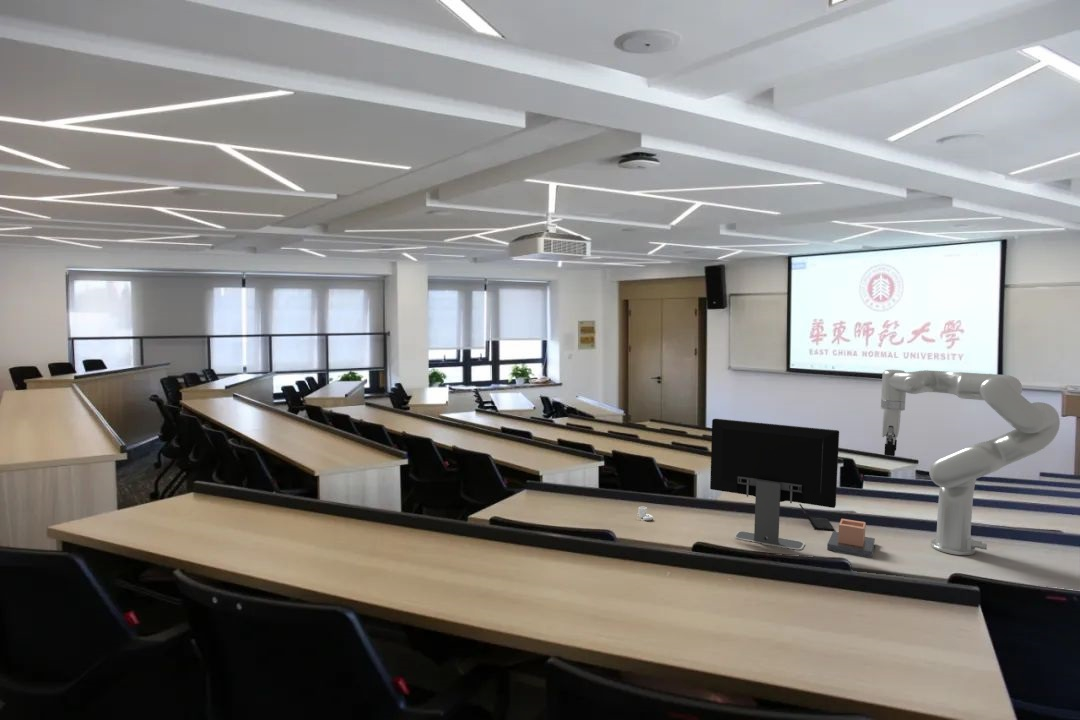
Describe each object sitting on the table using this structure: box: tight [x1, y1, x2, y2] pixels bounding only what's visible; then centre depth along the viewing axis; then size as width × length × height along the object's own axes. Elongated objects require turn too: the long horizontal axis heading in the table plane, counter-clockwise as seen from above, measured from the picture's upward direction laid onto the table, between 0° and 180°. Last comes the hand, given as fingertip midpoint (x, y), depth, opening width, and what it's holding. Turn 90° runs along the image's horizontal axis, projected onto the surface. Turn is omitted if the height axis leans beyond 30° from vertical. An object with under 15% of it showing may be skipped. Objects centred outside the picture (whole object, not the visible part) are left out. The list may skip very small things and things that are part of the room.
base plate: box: [826, 530, 876, 558], centre depth 221 cm, size 13×14×7 cm
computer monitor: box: [709, 418, 840, 551], centre depth 225 cm, size 41×8×40 cm, turn 59°
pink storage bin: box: [838, 518, 867, 547], centre depth 221 cm, size 7×7×6 cm
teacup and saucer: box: [637, 505, 654, 521], centre depth 250 cm, size 9×8×4 cm
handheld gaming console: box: [798, 503, 835, 532], centre depth 243 cm, size 13×8×11 cm
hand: (890, 452), depth 235 cm, fingers open, 9 cm apart
